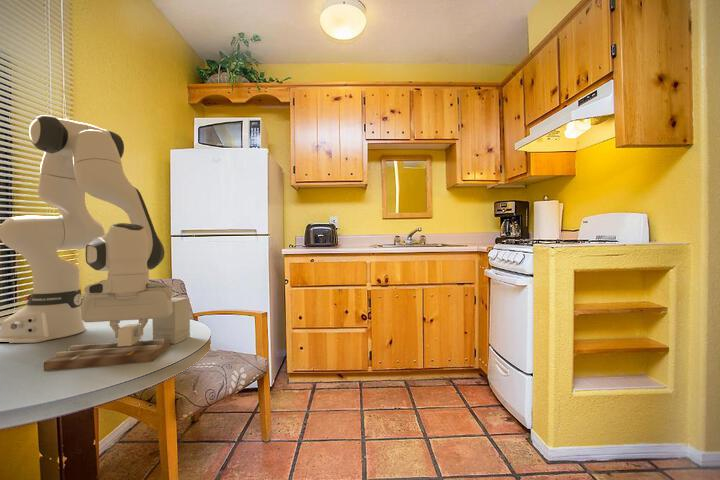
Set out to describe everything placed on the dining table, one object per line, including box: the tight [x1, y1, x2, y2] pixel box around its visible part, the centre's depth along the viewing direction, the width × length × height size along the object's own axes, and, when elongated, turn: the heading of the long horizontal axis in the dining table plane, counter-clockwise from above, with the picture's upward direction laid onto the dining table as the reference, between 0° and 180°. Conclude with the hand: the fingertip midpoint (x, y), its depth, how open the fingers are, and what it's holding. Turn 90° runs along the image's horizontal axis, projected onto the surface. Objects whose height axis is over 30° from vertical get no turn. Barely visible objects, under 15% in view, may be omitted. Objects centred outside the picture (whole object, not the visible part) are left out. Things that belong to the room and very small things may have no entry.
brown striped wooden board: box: [43, 339, 171, 371], centre depth 83 cm, size 23×12×3 cm, turn 103°
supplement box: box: [152, 297, 191, 345], centre depth 97 cm, size 7×7×13 cm
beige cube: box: [115, 323, 143, 348], centre depth 84 cm, size 5×5×5 cm
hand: (129, 336), depth 84 cm, fingers closed on beige cube, 3 cm apart
